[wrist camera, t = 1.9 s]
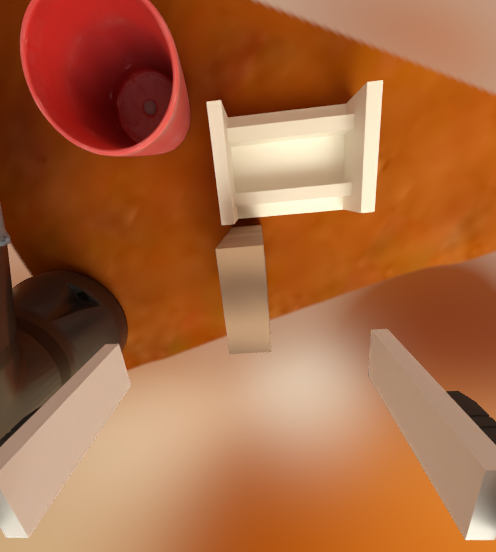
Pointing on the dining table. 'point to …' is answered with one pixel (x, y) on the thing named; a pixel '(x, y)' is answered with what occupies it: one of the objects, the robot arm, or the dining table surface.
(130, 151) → the flower pot
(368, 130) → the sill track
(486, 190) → the dining table surface
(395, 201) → the dining table surface
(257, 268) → the walnut panel
